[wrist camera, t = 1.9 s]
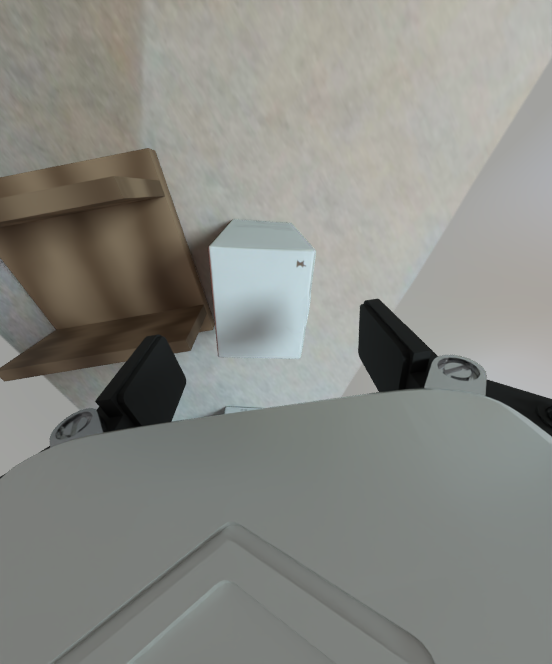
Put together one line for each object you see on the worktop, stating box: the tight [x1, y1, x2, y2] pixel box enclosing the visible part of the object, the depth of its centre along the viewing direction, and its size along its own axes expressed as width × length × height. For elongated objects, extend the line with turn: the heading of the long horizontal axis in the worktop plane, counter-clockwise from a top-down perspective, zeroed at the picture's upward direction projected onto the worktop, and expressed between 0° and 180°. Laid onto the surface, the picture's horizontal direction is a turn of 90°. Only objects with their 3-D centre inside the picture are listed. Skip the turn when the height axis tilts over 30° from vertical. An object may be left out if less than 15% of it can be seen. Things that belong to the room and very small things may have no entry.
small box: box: [208, 219, 316, 359], centre depth 21 cm, size 8×6×13 cm
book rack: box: [0, 148, 215, 381], centre depth 22 cm, size 18×18×9 cm
